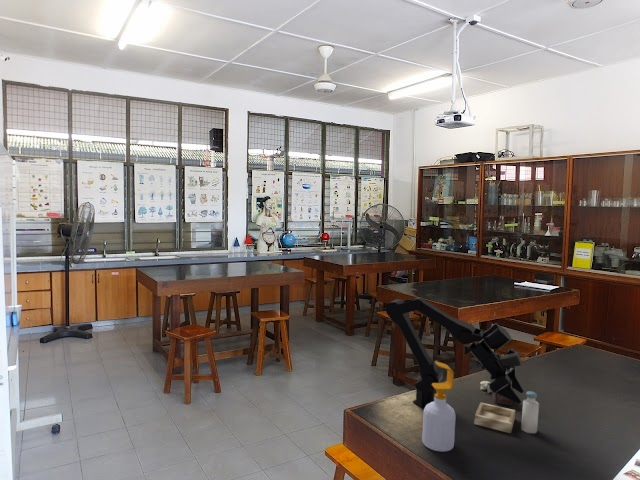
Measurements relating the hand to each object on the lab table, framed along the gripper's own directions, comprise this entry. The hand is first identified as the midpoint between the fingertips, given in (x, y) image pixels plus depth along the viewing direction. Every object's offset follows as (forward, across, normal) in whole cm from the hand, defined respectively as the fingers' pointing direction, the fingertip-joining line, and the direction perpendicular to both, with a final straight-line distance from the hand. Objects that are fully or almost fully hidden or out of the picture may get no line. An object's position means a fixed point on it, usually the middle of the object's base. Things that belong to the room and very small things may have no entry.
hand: (521, 397), depth 143 cm
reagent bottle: (+9, 0, +5) cm, 10 cm away
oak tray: (+2, 0, +12) cm, 12 cm away
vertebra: (-2, +25, +17) cm, 30 cm away
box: (+2, +18, +12) cm, 22 cm away
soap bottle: (-7, -24, +21) cm, 33 cm away
